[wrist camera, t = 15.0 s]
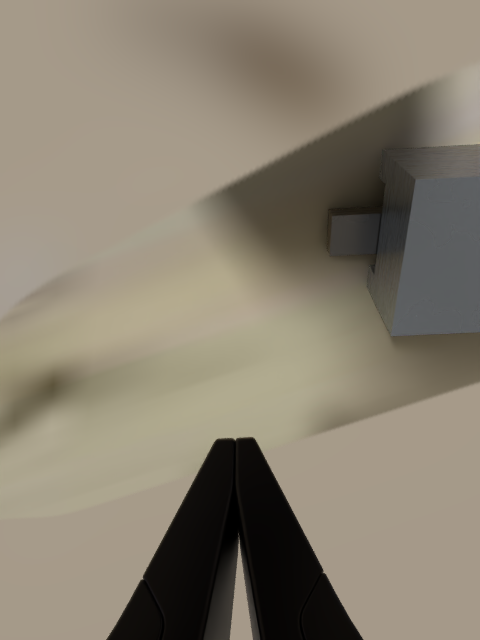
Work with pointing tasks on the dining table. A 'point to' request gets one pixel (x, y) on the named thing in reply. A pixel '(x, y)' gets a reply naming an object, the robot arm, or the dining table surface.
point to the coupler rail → (353, 231)
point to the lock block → (429, 241)
